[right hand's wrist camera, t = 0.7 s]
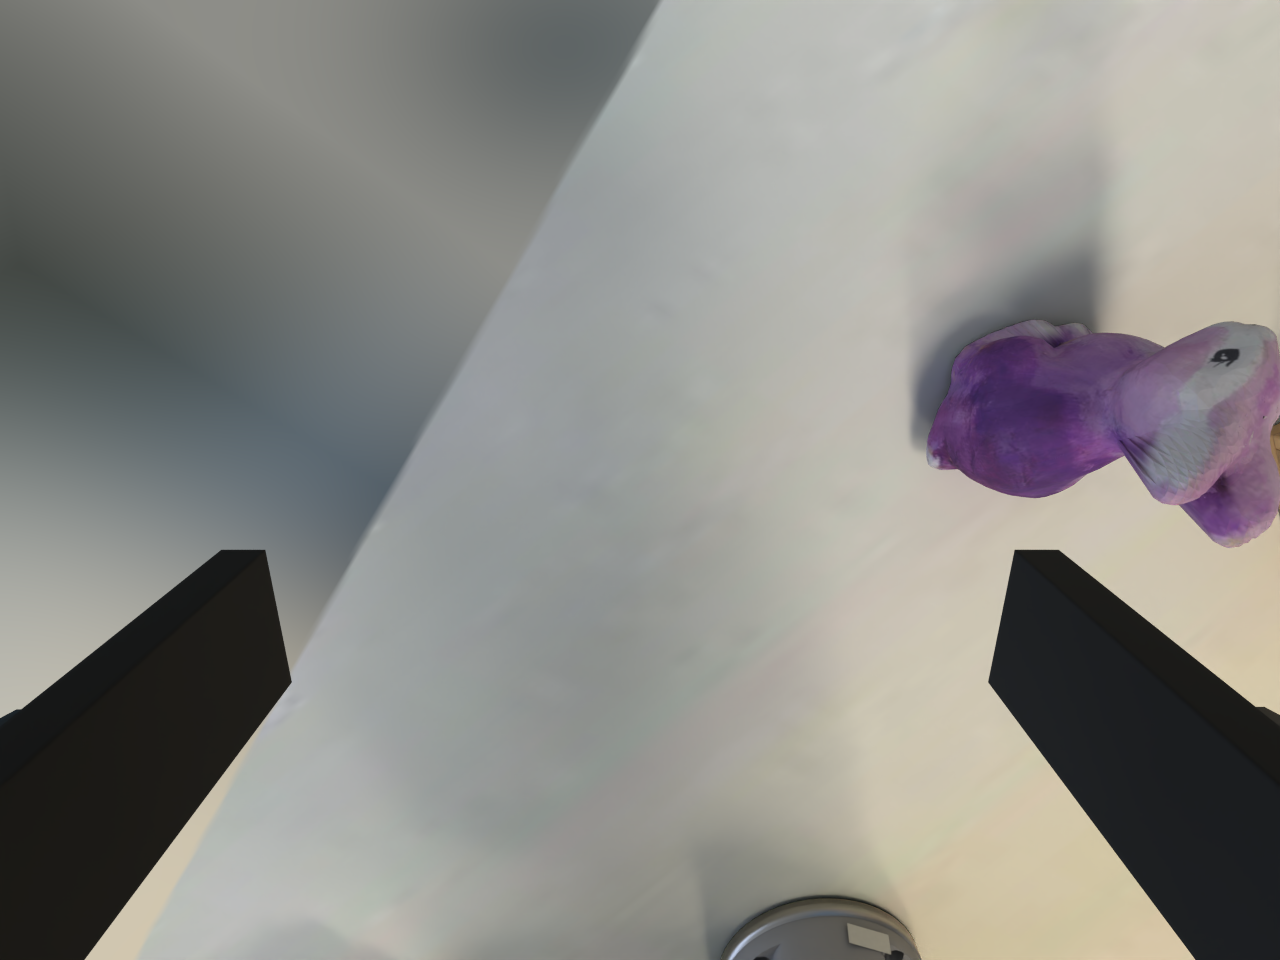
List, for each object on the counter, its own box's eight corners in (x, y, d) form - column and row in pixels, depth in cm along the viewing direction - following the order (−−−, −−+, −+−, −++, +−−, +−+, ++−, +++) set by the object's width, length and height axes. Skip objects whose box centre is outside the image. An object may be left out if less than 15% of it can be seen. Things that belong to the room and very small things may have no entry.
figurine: (1138, 303, 37) (1439, 357, 23) (1066, 484, 41) (1290, 626, 27) (964, 272, 37) (1165, 309, 23) (906, 458, 40) (1049, 590, 26)
